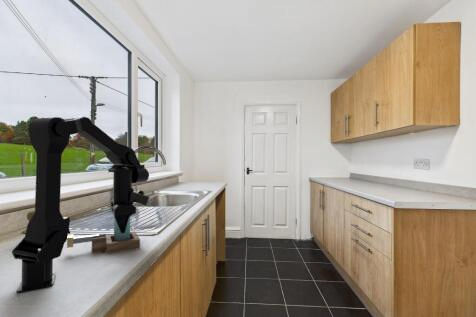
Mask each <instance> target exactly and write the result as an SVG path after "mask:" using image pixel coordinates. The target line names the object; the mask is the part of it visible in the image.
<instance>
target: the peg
mask: <svg viewBox="0 0 476 317" xmlns="http://www.w3.org/2000/svg"><path fill="white" fill-rule="evenodd" d="M130 232H131V216H130V217H129V219H128V222H127V226H126V230H125V233H121V232H120V229H119V227H118V224H117V222H116V219H115V217H114V216H113V235H114V240H115V241H122V240H127V239H130Z"/></svg>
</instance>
